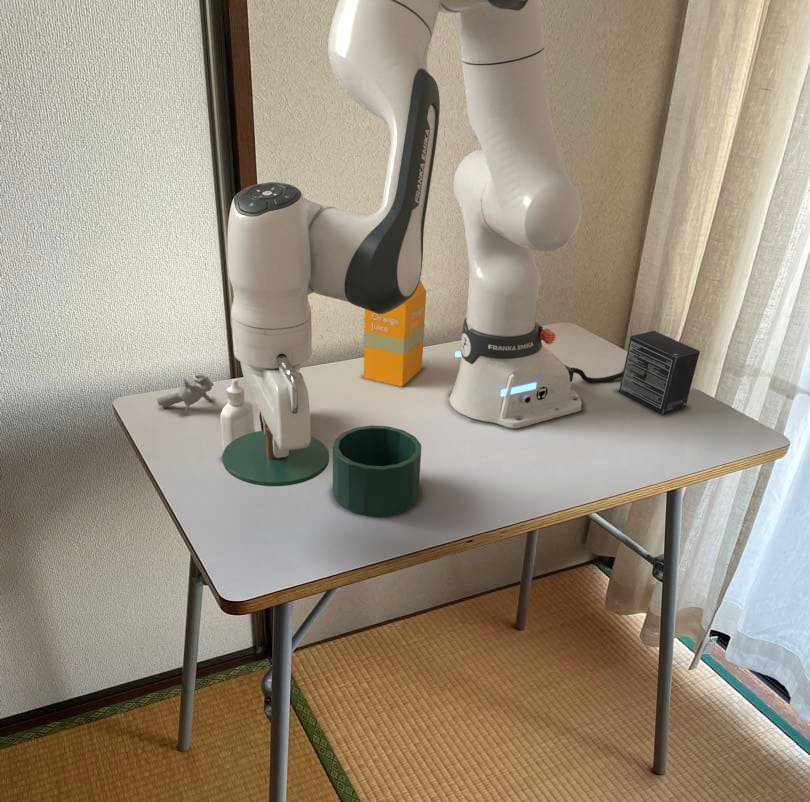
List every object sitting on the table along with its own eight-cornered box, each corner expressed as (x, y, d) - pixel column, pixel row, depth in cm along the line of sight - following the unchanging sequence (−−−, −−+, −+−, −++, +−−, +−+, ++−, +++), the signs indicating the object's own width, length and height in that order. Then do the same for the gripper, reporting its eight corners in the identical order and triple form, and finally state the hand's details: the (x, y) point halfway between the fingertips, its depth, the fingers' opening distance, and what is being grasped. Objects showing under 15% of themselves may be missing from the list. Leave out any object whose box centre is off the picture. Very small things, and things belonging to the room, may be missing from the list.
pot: (400, 465, 129) (403, 420, 125) (431, 508, 120) (434, 461, 116) (323, 477, 125) (322, 431, 121) (348, 522, 116) (348, 474, 112)
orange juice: (422, 368, 158) (429, 258, 146) (402, 387, 151) (407, 273, 139) (383, 359, 160) (387, 250, 149) (362, 377, 153) (364, 264, 142)
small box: (688, 407, 149) (703, 350, 143) (662, 416, 146) (676, 357, 140) (642, 384, 156) (655, 328, 150) (617, 391, 153) (628, 335, 147)
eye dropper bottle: (263, 455, 130) (259, 382, 123) (228, 465, 127) (222, 390, 120) (250, 443, 133) (245, 370, 126) (216, 452, 130) (209, 378, 123)
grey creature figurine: (168, 394, 145) (218, 377, 144) (177, 427, 144) (227, 411, 143) (141, 378, 135) (194, 360, 134) (150, 414, 135) (203, 396, 133)
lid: (313, 432, 114) (313, 396, 111) (342, 482, 104) (342, 444, 101) (214, 444, 110) (211, 407, 107) (234, 497, 100) (231, 458, 97)
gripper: (324, 374, 91) (324, 486, 99) (278, 305, 107) (281, 407, 115) (265, 380, 89) (270, 494, 97) (227, 309, 105) (234, 412, 113)
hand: (276, 446), depth 106 cm, fingers closed on lid, 2 cm apart
